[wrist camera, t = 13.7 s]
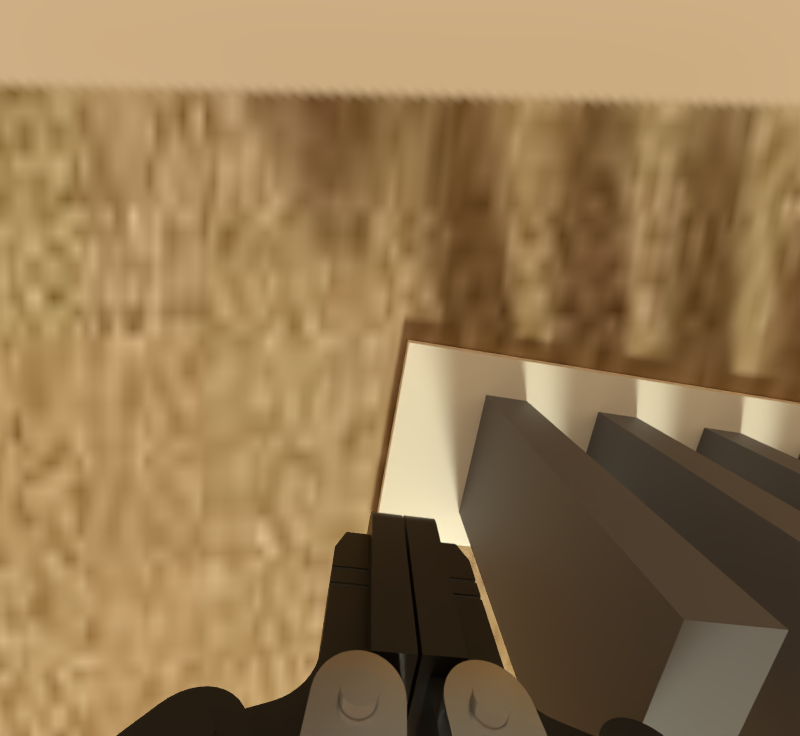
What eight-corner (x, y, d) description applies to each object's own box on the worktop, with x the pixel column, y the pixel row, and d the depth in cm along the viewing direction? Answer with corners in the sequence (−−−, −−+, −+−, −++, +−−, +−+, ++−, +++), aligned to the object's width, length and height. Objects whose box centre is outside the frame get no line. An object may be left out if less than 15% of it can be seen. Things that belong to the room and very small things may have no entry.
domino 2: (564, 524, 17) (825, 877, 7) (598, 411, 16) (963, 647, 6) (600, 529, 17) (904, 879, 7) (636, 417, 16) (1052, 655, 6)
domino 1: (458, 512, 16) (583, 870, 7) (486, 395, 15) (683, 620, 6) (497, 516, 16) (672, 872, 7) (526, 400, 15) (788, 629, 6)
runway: (374, 526, 17) (374, 536, 16) (407, 339, 15) (409, 342, 15) (890, 584, 19) (906, 594, 19) (972, 430, 18) (993, 435, 17)
